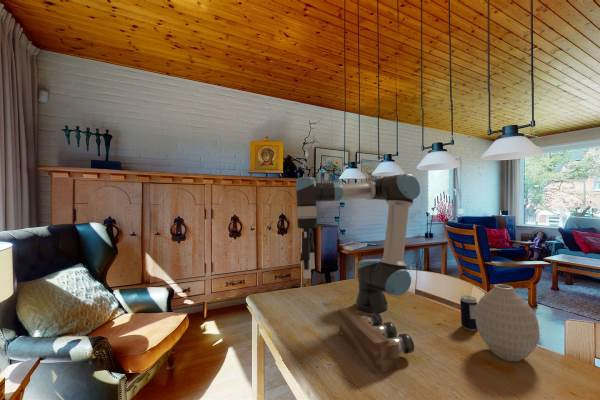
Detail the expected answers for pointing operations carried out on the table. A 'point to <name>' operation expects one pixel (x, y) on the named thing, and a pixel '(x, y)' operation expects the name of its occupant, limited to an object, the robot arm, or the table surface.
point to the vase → (507, 323)
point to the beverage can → (468, 312)
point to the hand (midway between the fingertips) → (309, 273)
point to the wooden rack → (369, 341)
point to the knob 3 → (403, 343)
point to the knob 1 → (374, 319)
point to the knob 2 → (388, 329)
